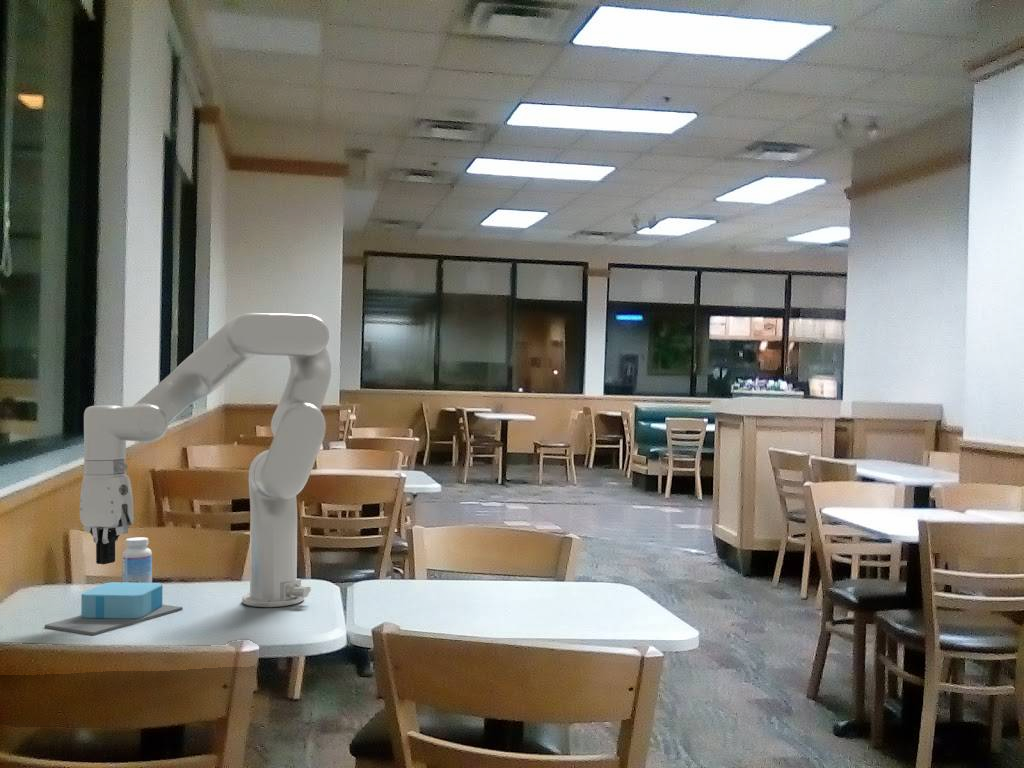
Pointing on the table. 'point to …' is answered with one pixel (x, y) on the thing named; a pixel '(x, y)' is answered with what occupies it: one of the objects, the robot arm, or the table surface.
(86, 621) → the mat
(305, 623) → the table surface
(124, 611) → the data package
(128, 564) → the pill bottle
